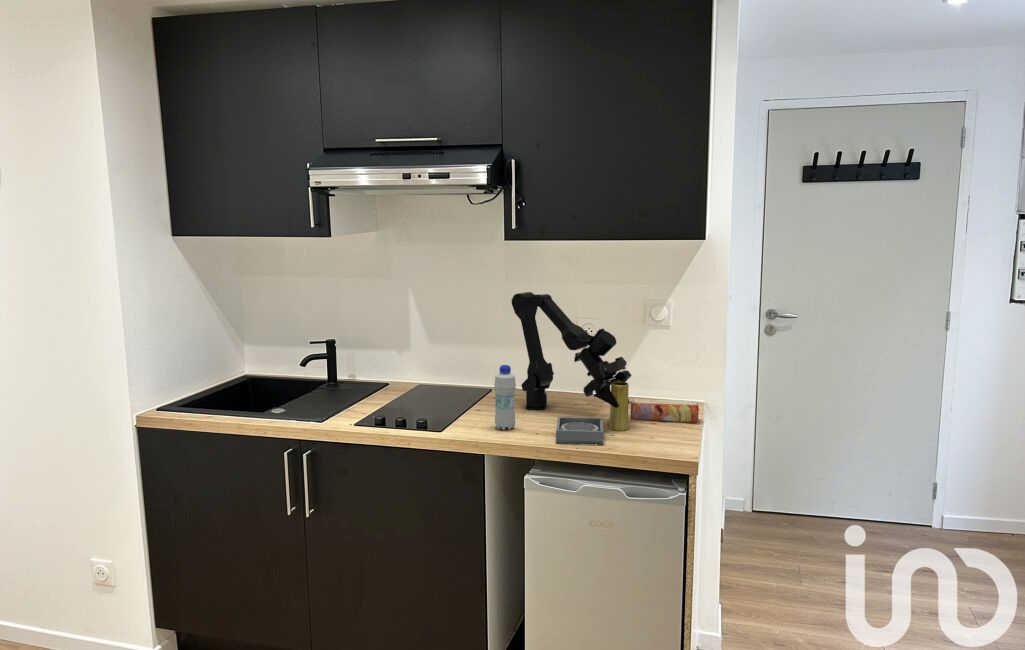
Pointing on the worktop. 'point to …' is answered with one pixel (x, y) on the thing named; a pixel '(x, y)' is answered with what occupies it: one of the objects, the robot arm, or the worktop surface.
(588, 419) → the tray
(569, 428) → the collar
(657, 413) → the snack package
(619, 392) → the vase
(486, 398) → the worktop surface
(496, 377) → the bottle
